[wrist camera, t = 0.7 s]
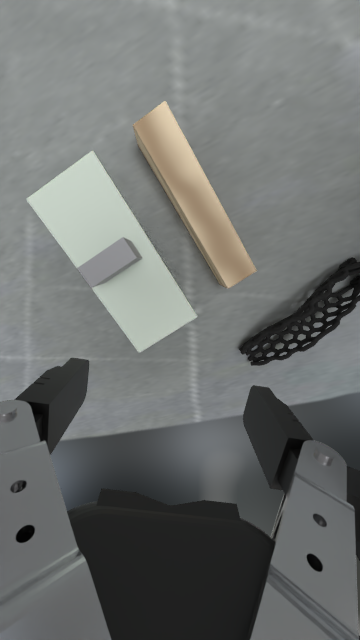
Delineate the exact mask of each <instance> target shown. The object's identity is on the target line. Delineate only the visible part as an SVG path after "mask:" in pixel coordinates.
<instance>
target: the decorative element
mask: <svg viewBox="0 0 360 640" xmlns="http://www.w3.org/2000/svg"><path fill="white" fill-rule="evenodd" d="M340 267H341V268H340V269H339V270H338V272H336V273H335V274H333V275H331V276H330V277H329V278H328V279H327V280H326V281H325V282H324V283H323V284H322V285H321V286H320V287H319V288H318V289H317V290H316V291H315V292H314V293H313V294H312V295H311V296H310V297H309V298H308V299H307V301H306V302H305V303H304V304H303V305H302V306H301V307H300V308H299V309H298V310H297V311H296V312H295V313H294V314H292V315H291V316H289V317H287V318H285V319H283V320H281V321H279V322H277V323H275V324H273V325H271V326H269V327H267V328H266V329H264V330H262V331H261V332H259V333H258V334H256V335H255V336H254V337H252V338H251V339H250V340H249V341H247V342H246V343H245V344H244V345H243V346H241V347H240V348H239V350H240V351H241V353H242V354H244V353H246V355H248V354H250V355H251V356H250V357H249V358H248V359H249V361H252V360H253V362H251V366H252V365H258V366H260V365H265V364H267V363H269V362H270V361H272V360H284V359H287V358H289V357H290V356H291V355H292V354H293V353H295V352H297V351H306V350H307V349H309V348H311V347H313V346H314V345H315V344H316V343H317V342H318V341H319V340H320V339H321V338H322V337H324V336H325V335H326V334H328V333H329V332H331V331H333V330H334V329H335V328H336V327H337V326H338V325H339V324H340V320H341V318H342V317H344V316H345V315H347V314H349V313H350V312H351V311H352V310H353V309H354V308H355V307H356V303H357V302H358V301H360V295H359V296H358V297H357V295H358V294H359V293H360V275H359V276H357V277H356V278H354V279H353V280H352V281H350V284H351V285H350V286H348V287H346V288H344V289H343V290H341V291H339V292H338V293H332V288H333V287H334V285H335V283H337V282H339V281H342V280H344V279H345V278H346V277H347V276H348V275H352V274H357V273H360V262H357V261H356V259H355V258H350V259H348V260H346V261H345V262H344V263H342V264H341V265H340ZM352 288H354V290H353V293H352V295H351V296H349V297H345V298H342V296H341V295H342V294H344V293H345V292H347V291H349V290H350V289H352ZM325 290H327V291H326V292H325V293H324V291H325ZM323 293H324V294H323ZM330 297H336V298H337V299H338V300H339V301H337V302H336V303H329V301H328V299H329V298H330ZM320 300H322V301H324V304H325V306H324V307H323V308H320V307H318V302H319V301H320ZM351 300H352V301H351ZM346 301H351V302H350V303H348V304H346V305H344V306H341V304H342V303H343V302H346ZM331 307H337V308H338V310H337V311H335V312H331V313H328V312H327V309H328V308H331ZM345 309H347V310H345ZM343 310H345V311H343ZM303 311H304V312H303ZM317 311H318V312H322V313H323V314H324V316H323V317H322V318H315V313H316V312H317ZM342 311H343V312H342ZM341 312H342V313H341ZM309 315H310V317H311V321H310V322H306V320H305V318H307V317H308V316H309ZM331 316H337V317H336V318H335V319H333V320H331V321H328V322H327V321H326V319H327V318H328V317H331ZM298 320H301V323H299V322H297V321H298ZM317 322H321V323H323V325H322V327H319V328H314V326H313V324H314V323H317ZM294 325H296V326H298V329H299V330H298V331H294V330H291V329H292V326H294ZM303 325H305V326H308V327H309V329H310V330H309V331H306V330H303ZM330 325H332V326H330ZM286 326H287V329H286V330H284V329H285V328H286ZM328 326H330V327H329V328H327V327H328ZM326 328H327V329H326ZM325 329H326V330H325ZM283 330H284V331H283ZM314 332H321V333H320V334H318V335H317V336H316V337H311V334H313V333H314ZM287 333H290V334H293V335H294V336H293V339H291V340H288V341H287V340H284V339H283V335H285V334H287ZM274 334H277V335H279V338H278V339H276V340H274V341H273V340H270V337H271V336H272V335H274ZM299 334H304V335H306V338H305V339H304V340H302V341H300V340H298V339H297V338H298V335H299ZM264 337H266V339H265V340H264V341H262V340H263V339H264ZM261 341H262V342H261ZM280 342H281V343H283V344H284V347H283V348H282V349H279V350H277V349H275V345H276V344H278V343H280ZM308 342H311V343H309V344H307V345H306V346H304V347H302V346H303V345H304V344H306V343H308ZM266 343H270V344H271V347H270V348H269V349H266V350H265V349H262V348H263V345H265V344H266ZM292 343H297V344H298V345H297V347H295V348H293V349H289V348H288V347H289V344H292ZM256 345H258V346H259V347H258V349H256V350H254V351H251V349H252V348H253V347H254V346H256ZM246 350H247V352H246ZM259 352H261V353H263V354H262V356H260V357H255V355H256V354H257V353H259ZM270 352H274V353H275V354H274V356H271V357H266V355H267V354H268V353H270ZM283 352H287V354H286V355H283V356H279V355H280V354H281V353H283ZM261 360H265V361H261ZM259 361H260V362H259Z"/></svg>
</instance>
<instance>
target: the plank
mask: <svg viewBox="0 0 360 640" xmlns="http://www.w3.org/2000/svg"><path fill="white" fill-rule="evenodd" d="M133 128H134V132H135V135H136V139H137V143H138V146H139V148H140V150H141V151H142V153H143V155H144V157H145V158H146V160H147V162H148V163H149V165H150V167H151V168H152V170H153V172H154V173H155V175H156V177H157V179H158V180H159V182H160V184H161V185H162V187H163V189H164V190H165V192H166V194H167V195H168V197H169V199H170V201H171V202H172V204H173V206H174V207H175V209H176V211H177V212H178V214H179V216H180V217H181V219H182V221H183V223H184V224H185V226H186V228H187V229H188V231H189V233H190V234H191V236H192V238H193V240H194V241H195V243H196V245H197V246H198V248H199V250H200V251H201V253H202V255H203V256H204V258H205V260H206V262H207V263H208V265H209V267H210V268H211V270H212V272H213V273H214V275H215V277H216V278H217V280H218V282H219V284H220V285H222V286H224V287H226V288H228V289H229V288H230V287H232V286H233V285H235V284H237V283H238V282H240V281H241V280H243V279H245V278H246V277H248V276H249V275H251V274H252V273H254V272H256V271H257V270H256V268H255V266H254V265H253V263H252V261H251V259H250V257H249V255H248V253H247V252H246V250H245V248H244V246H243V244H242V242H241V240H240V239H239V237H238V235H237V233H236V231H235V229H234V227H233V226H232V224H231V222H230V220H229V218H228V216H227V214H226V213H225V211H224V209H223V207H222V205H221V203H220V201H219V199H218V198H217V196H216V194H215V192H214V190H213V188H212V186H211V185H210V183H209V181H208V179H207V177H206V175H205V173H204V172H203V170H202V168H201V166H200V164H199V162H198V160H197V159H196V157H195V155H194V153H193V151H192V149H191V147H190V146H189V144H188V142H187V140H186V138H185V136H184V134H183V133H182V131H181V129H180V127H179V125H178V123H177V121H176V120H175V118H174V116H173V114H172V112H171V110H170V108H169V107H168V105H167V103H166V101H164V102H163V103H161V104H160V105H159V106H157V107H156V108H155V109H153V110H152V111H151V112H149V113H148V114H147V115H145V116H144V117H143V118H141V119H140V120H139V121H137V122H136V123H135V124H133Z"/></svg>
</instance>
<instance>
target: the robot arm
mask: <svg viewBox="0 0 360 640" xmlns="http://www.w3.org/2000/svg"><path fill="white" fill-rule="evenodd" d="M88 372H89V361H88V360H85V359H78V358H71V359H70V360H69V361H68V362H67V363H66V364H65V365H63V366H62V367H60V366H57V367H54V368H52V369H50V370H47V371H46V372H45V373H44V374H43V375H42V376H40V378H38V379H37V380H36V381H35V382H34V384H31V385H30V386H29V387H28V388H27V389H26V390H25V391H24V392H23V393H21V394H20V395H19V396H18V397H17V398H16V399H15V400H7V401H2V402H0V640H360V636H359V635H358V607H357V606H358V604H357V573H356V555H357V557H358V559H359V561H360V471H359V470H356V469H353V468H351V467H348V466H347V465H346V463H345V461H344V459H343V458H342V457H341V456H340V455H339V454H338V453H337V452H336V451H335V450H333V449H332V448H330V447H329V446H327V445H325V444H323V443H320V442H318V441H314V440H313V439H312V437H311V436H310V435H309V433H308V432H307V431H306V430H305V428H304V427H303V426H302V424H301V423H300V422H298V419H297V418H296V416H294V415H293V412H291V410H290V409H289V407H288V406H287V405H285V404H284V403H283V402H282V401H280V400H279V399H277V398H276V397H275V395H274V394H273V392H272V391H271V390H270V388H268V387H261V386H252V387H251V389H250V393H249V396H248V400H247V403H246V407H245V410H244V415H243V422H244V426H245V429H246V431H247V434H248V436H249V438H250V441H251V443H252V446H253V448H254V450H255V453H256V455H257V457H258V460H259V462H260V465H261V467H262V469H263V472H264V474H265V477H266V479H267V481H268V484H269V486H270V488H271V489H278V490H283V491H284V497H283V500H282V502H281V505H280V508H279V512H278V515H277V518H276V521H275V524H274V528H273V531H272V534H271V537H269V536H268V535H267V534H265V532H263V531H262V530H261V529H259V528H258V527H256V526H255V525H253V524H252V523H250V522H248V521H246V520H244V519H242V518H240V516H239V512H238V508H237V504H232V503H223V502H214V501H205V500H203V501H197V502H191V503H185V504H179V505H167V504H164V503H162V502H159V501H156V500H154V499H151V498H149V497H146V496H144V495H141V494H138V493H136V492H127V491H119V490H110V489H101V492H100V495H99V498H98V501H97V502H91V503H87V504H84V505H81V506H78V507H76V508H73V509H71V510H69V511H66V507H65V504H64V500H63V497H62V494H61V490H60V487H59V484H58V480H57V477H56V473H55V470H54V467H53V463H52V460H51V457H50V454H51V453H52V452H53V450H54V448H55V447H56V445H57V444H58V442H59V440H60V439H61V437H62V436H63V434H64V432H65V431H66V429H67V428H68V426H69V424H70V423H71V421H72V420H73V418H74V416H75V415H76V413H77V412H78V410H79V408H80V407H81V405H82V404H83V402H84V399H85V396H86V392H87V383H88Z"/></svg>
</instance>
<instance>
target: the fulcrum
mask: <svg viewBox="0 0 360 640" xmlns="http://www.w3.org/2000/svg"><path fill="white" fill-rule="evenodd" d="M26 200H27V201H28V202H29V204H30V205H31V206H32V208H33V209H34V210H35V212H36V213H37V215H38V216H39V217H40V219H41V220H42V221H43V223H44V224H45V225H46V227H47V228H48V230H49V231H50V232H51V234H52V235H53V236H54V238H55V239H56V240H57V242H58V243H59V244H60V246H61V247H62V249H63V250H64V251H65V253H66V254H67V255H68V257H69V258H70V259H71V261H72V262H73V264H74V265H75V266H76V268H77V269H78V271H79V272H80V273H81V275H82V276H83V277H84V279H85V280H86V282H87V283H88V284H89V286H90V287H91V288H92V289H93V291H94V292H95V294H96V295H97V296H98V298H99V299H100V300H101V302H102V303H103V304H104V306H105V307H106V309H107V310H108V311H109V313H110V314H111V315H112V317H113V318H114V319H115V321H116V322H117V323H118V325H119V326H120V328H121V329H122V330H123V332H124V333H125V334H126V336H127V337H128V338H129V340H130V341H131V343H132V344H133V345H134V347H135V348H136V349H137V351H138V352H139V353H140V352H142V351H143V350H145V349H146V348H148V347H150V346H151V345H153V344H154V343H156V342H158V341H159V340H161V339H163V338H164V337H166V336H167V335H169V334H171V333H172V332H174V331H176V330H177V329H179V328H180V327H182V326H184V325H185V324H187V323H188V322H190V321H192V320H193V319H195V318H197V317H198V316H197V315H196V313H195V311H194V310H193V308H192V307H191V305H190V303H189V302H188V300H187V299H186V297H185V295H184V294H183V292H182V291H181V289H180V288H179V286H178V284H177V283H176V281H175V280H174V278H173V276H172V275H171V273H170V272H169V270H168V269H167V267H166V265H165V264H164V262H163V261H162V259H161V257H160V256H159V254H158V253H157V251H156V249H155V248H154V246H153V245H152V243H151V242H150V240H149V238H148V237H147V235H146V234H145V232H144V230H143V229H142V227H141V226H140V224H139V223H138V221H137V219H136V218H135V216H134V215H133V213H132V211H131V210H130V208H129V207H128V205H127V204H126V202H125V200H124V199H123V197H122V196H121V194H120V192H119V191H118V189H117V188H116V186H115V184H114V183H113V181H112V180H111V178H110V177H109V175H108V173H107V172H106V170H105V169H104V167H103V165H102V164H101V162H100V161H99V159H98V158H97V156H96V154H95V153H94V151H93V150H92V151H91V152H90V153H88V154H87V155H86V156H84V157H83V158H82V159H80V160H79V161H77V162H76V163H75V164H73V165H72V166H71V167H69V168H68V169H67V170H65V171H64V172H62V173H61V174H60V175H58V176H57V177H56V178H54V179H53V180H52V181H50V182H49V183H47V184H46V185H45V186H43V187H42V188H41V189H39V190H38V191H37V192H35V193H34V194H33V195H31V196H30V197H28V198H27V199H26Z"/></svg>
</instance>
